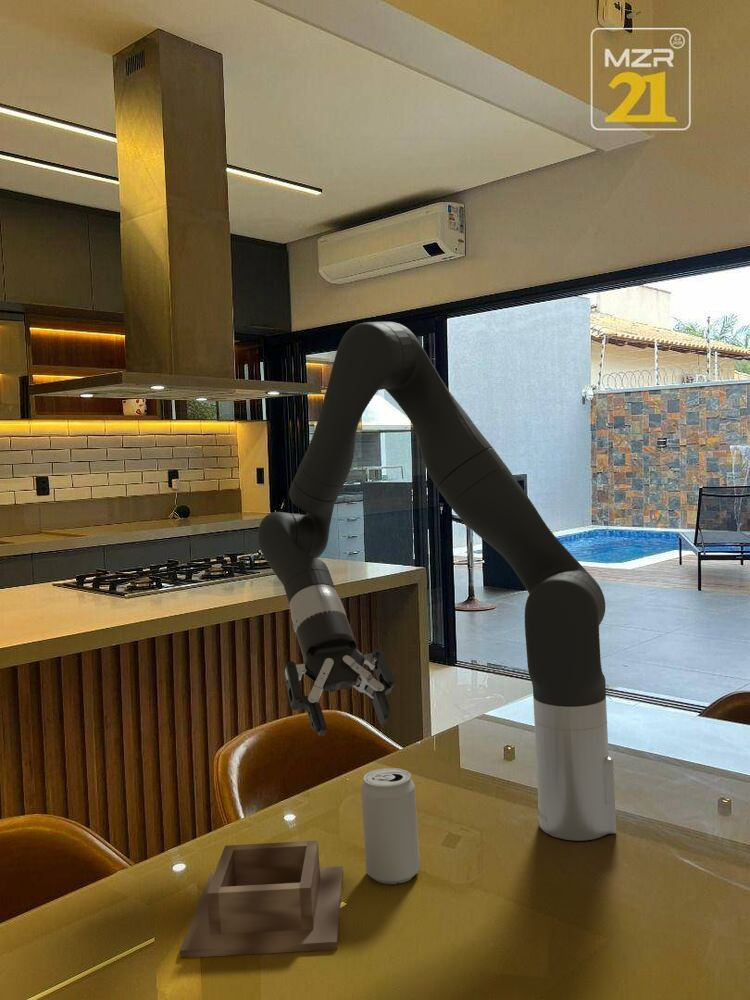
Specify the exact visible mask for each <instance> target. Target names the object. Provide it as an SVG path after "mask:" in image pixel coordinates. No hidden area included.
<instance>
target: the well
mask: <svg viewBox="0 0 750 1000" xmlns="http://www.w3.org/2000/svg"><path fill="white" fill-rule="evenodd" d="M319 854H320V852H319V840H303V841H302V840H299V841H288V842H287V841H285V842H283V841H282V842H268V843H267V842H266V843H264V842H263V843H251V844H250V843H248V844H229V845H224V848H223V850H222V852H221V855H220V859H219V861H218V864H217V866H216V869H215V871H214V872H210V873H209V875H208V878H207V881H206V883H205V886H204V888H203V890H202V894H201V896H200V899H199V901H198V902H197V903H198V904H197V906H196V909H195V912H194V914H193V916H192V919H191V920H190V921H191V922H190V925H189V926H188V929H187V932H186V934H185V937H184V939H183V941H182V945H181V947H180V950H179V953H180V955H179V957H180V959H185V958H186V959H187V958H189V959H190V958H204V957H205V958H206V957H222V956H223V957H224V956H238V955H239V956H241V955H242V956H243V955H255V954H256V955H258V954H259V955H261V954H276V953H277V954H279V953H280V954H281V953H294V952H295V953H296V952H298V953H299V952H314V951H330V950H331V951H332V950H334V951H335V950H338V943H339V928H340V920H341V919H340V918H341V917H340V915H341V904H342V895H343V893H342V892H343V881H344V880H343V878H344V866H343V865H338V866H337V865H335V866H320V855H319Z"/></svg>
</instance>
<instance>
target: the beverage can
mask: <svg viewBox="0 0 750 1000" xmlns="http://www.w3.org/2000/svg"><path fill="white" fill-rule="evenodd" d="M360 793H361V808H362V809H361V811H362V825H363V840H364V855H365V858H364V859H365V870H366V873H367V874H368V876H369V877H370V878H372V879H373V880H374V881H376V882H377V883H380V884H384V885H398V884H397V883H399V884H402V883H406V882H409V881H410V880H412V879H413V878H414V876H416V874H417V873H418V872H419V870H420V865H421V863H420V851H419V835H418V832H419V831H418V817H417V802H416V801H417V800H416V786H415V783H414V781H413V780H412V774H411V773H410V772H409V771H408V770H405V769H403V768H397V767H384V768H377V769H374V770H371V771H368V772H367V773H365V775H364V776H363V784H362V785H361V787H360ZM412 877H413V878H412ZM411 878H412V879H411Z"/></svg>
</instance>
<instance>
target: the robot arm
mask: <svg viewBox="0 0 750 1000" xmlns="http://www.w3.org/2000/svg"><path fill="white" fill-rule="evenodd" d="M380 390H382V391H383V390H385V391H386V392H387V393H388V394H389V395H390V396H391V398H393V400H394V401H395V402H396V403H397V405H398V406H399V408H400V409H402V411H403V413H404V414H405V415H406V416H407V418H408V421H410V423H411V425H412V426H413V429H414V431H415V435H416V437H417V440H418V444H419V449H420V453H421V455H422V460H423V463H424V465H425V468H426V469H425V470H426V471H427V473H428V476H429V477H430V479H431V481H432V482H433V484H434V486H435V488H436V489H437V490H438V491H439V493H440V495H441V496H442V497H443V499H444V500H445V501H446V503H447V504H448V505H449V507H450V508H451V510H452V511H453V512H454V513H455V514H456V516H457V517H459V519H460V520H461V521H462V522H463V524H465V525H466V526H467V527H468V528H469V529H471V530H472V532H474V533H475V534H476V535H477V536H478V537H479V538H481V539H482V540H483V541H484V542H486V543H487V544H488V545H490V546H491V547H492V548H493V549H494V550H495V551H496V552H498V553H499V555H500V556H501V557H503V559H504V560H505V561H506V562H507V564H509V565H510V567H511V569H512V570H513V571H514V572H515V574H516V575H517V577H518V579H519V580H520V581H521V583H522V585H523V587H524V588H525V589H526V591H527V593H528V596H527V598H526V602H525V605H524V632H525V633H524V635H525V646H526V648H525V649H526V660H527V671H528V676H529V678H530V681H531V685H532V695H533V701H532V702H533V717H534V718H533V719H534V736H535V737H534V738H535V741H534V743H535V759H536V760H535V761H536V763H535V764H536V780H537V781H536V782H537V783H536V784H537V800H538V804H537V805H538V806H537V808H538V809H537V810H538V821H539V822H538V824H539V827H540V829H541V830H542V831H543V832H544V833H545V834H548V835H549V836H552V837H554V838H557V839H561V840H568V841H581V842H582V841H590V840H596V839H599V838H600V839H601V838H602V837H604V836H606V835H609V834H617V821H616V820H617V816H616V797H615V796H616V795H615V793H616V791H615V772H614V771H615V770H614V769H615V768H614V767H615V766H614V759H613V758H612V757H611V755H610V754H609V735H608V713H607V691H606V690H607V689H606V688H607V686H606V685H607V683H606V678H605V675H604V673H603V667H602V660H601V645H600V644H601V643H600V642H601V640H600V626H601V623H602V622H603V620H604V617H605V615H606V614H605V613H606V599H605V595H604V593H603V590H602V588H601V587H600V585H599V583H598V582H597V581H596V579H595V578H594V577H593V576H592V575H591V574H590V573H589V572H588V571H587V569H585V568H584V566H582V564H581V563H580V562H579V561H578V560H577V559H576V558H575V557H574V556H573V554H572V553H570V551H569V550H568V549H567V548H566V546H564V545H563V543H562V542H561V541H560V540H559V539H558V538H557V537H556V535H555V534H554V533H553V532H552V531H551V529H550V528H549V527H548V525H547V523H546V522H545V520H543V517H542V516H541V514H540V513H539V512H538V509H537V508H536V507H535V504H533V502H532V500H531V499H530V498H529V496H528V494H526V492H525V491H524V489H523V488H522V486H521V485H520V483H519V482H518V481H517V479H516V477H514V475H513V473H512V472H511V470H510V469H509V467H508V466H507V465H506V463H505V462H504V460H502V458H501V457H500V455H499V454H498V453H497V451H496V450H495V449H494V448H493V446H492V445H491V444H490V442H489V441H488V440H487V439H486V437H485V436H484V435H483V433H482V432H481V431H480V430H479V429H478V427H477V426H476V425H475V423H474V421H473V420H472V419H471V418H470V416H469V415H468V413H467V412H466V411H465V410H464V409H463V407H462V405H460V403H459V402H458V400H456V398H455V397H454V395H452V392H450V391H449V389H448V387H447V386H446V384H445V382H444V381H443V379H442V378H441V376H440V374H439V372H438V371H437V369H436V367H435V366H434V364H433V362H432V361H431V359H430V357H429V356H428V354H427V352H426V350H425V349H424V347H423V345H422V344H421V342H420V341H419V339H418V338H417V336H416V335H415V334H414V332H412V331H411V329H409V328H408V327H406V326H405V325H403V324H401V323H399V322H398V323H397V322H396V321H395V322H394V321H369V322H368V321H367V322H361V323H357V324H355V325H354V326H353V325H352V327H350V328H349V329H348V330H346V332H345V333H344V334H343V336H342V338H341V340H340V342H339V344H338V346H337V350H336V354H335V357H334V360H333V364H332V367H331V373H330V375H329V379H328V383H327V386H326V390H325V395H324V398H323V400H322V401H323V402H322V405H321V408H320V412H319V416H318V419H317V422H316V425H315V429H314V430H313V434H312V436H311V438H310V439H311V440H310V442H309V444H308V447H307V450H306V451H305V454H304V456H303V458H302V460H301V461H300V462H301V463H300V465H299V467H298V469H297V472H296V474H295V475H294V478H293V480H292V482H291V484H290V488H289V493H288V494H289V495H288V496H289V499H290V501H291V503H293V505H295V506H296V507H297V508H299V510H302V511H304V512H306V514H299V513H290V512H283V511H274V512H270V513H268V514H267V515H265V516H264V518H262V519H261V522H260V524H259V527H258V530H257V541H258V545H259V549H260V552H261V554H262V556H263V557H264V560H265V561H266V562H267V564H268V565H269V567H270V568H271V570H272V571H273V573H274V575H276V577H277V579H278V580H279V581H280V582H281V584H282V585H283V589H284V592H285V595H286V598H287V602H288V606H289V608H290V609H289V610H290V615H291V621H292V625H293V626H292V627H293V630H294V633H295V635H296V639H297V641H298V645H299V648H300V651H301V655H302V658H303V662H304V663H300V664H296V662H294V661H292V660H290V661H288V662H287V663H286V666H285V669H284V674H283V676H284V681H285V686H286V689H287V695H288V700H289V706H290V708H291V709H292V710H293V711H297V710H299V709H300V710H304V711H305V712H306V713H307V715H308V719H309V723H310V727H311V730H312V731H313V732H314V733H317V734H318V737H323V736H325V735H326V732H327V730H328V728H327V722H326V719H325V716H324V712H323V709H322V706H321V703H320V702H318V701H319V700H320V697H321V695H322V693H323V691H324V690H325V691H328V692H329V693H332V692H336V691H338V690H344V691H345V690H351V689H352V687H353V688H354V689H355V690H357V691H358V692H359V693H364V694H365V695H367V696H368V697H369V698H371V699H372V705H373V709H374V710H375V714H376V717H377V720H378V723H379V725H380V726H382V725H383V726H384V725H386V724H387V723H388V721H389V718H390V716H391V713H392V712H391V708H390V704H389V701H388V698H387V696H386V695H391V693H392V690H393V688H394V686H395V685H396V680H395V677H394V675H393V672H392V670H391V668H390V666H389V664H388V662H387V659H386V657H385V654H384V652H383V650H382V649H381V648H375V649H374V650H373V652H371V653H365V654H363V653H362V652H360V650H359V649H358V646H357V642H356V639H355V636H354V634H353V630H352V628H351V625H350V622H349V619H348V617H347V613H346V610H345V607H344V605H343V602H342V599H341V598H340V596H339V594H338V591H337V590H336V587H335V584H334V582H333V578H332V575H331V573H330V570H329V568H328V566H327V564H326V563H325V562H324V561H323V560H322V559H319V558H320V557H321V555H322V554H323V553H324V552H325V550H326V549H327V546H328V543H329V535H330V528H331V524H332V523H331V522H332V518H333V512H334V507H335V503H336V501H337V499H338V497H339V495H340V494H341V492H342V489H343V487H344V486H345V485H344V484H345V482H346V481H347V479H348V476H349V474H350V471H351V469H352V464H353V461H354V454H355V444H356V443H355V442H356V434H357V431H358V430H357V429H358V426H359V424H360V421H361V418H362V416H363V414H364V413H365V411H366V408H367V407H368V405H369V404H370V402H371V401H372V399H373V398H374V396H375V395H376V394H377V392H378V391H380ZM364 665H366V666H367V667H369V669H370V670H371V671H373V672H374V674H375V676H376V678H375V677H374V676H373V674H372V673H371V672H370V671H369V670H367V669H366V668H364ZM303 675H305V676H306V677H308V678H309V679H310V680H311V681H312V682H314V683H313V686H312V689H311V690H310V693H309V694H308V695H304V694H303V692H302V687H301V680H302V677H303ZM359 678H360V679H359Z"/></svg>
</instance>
